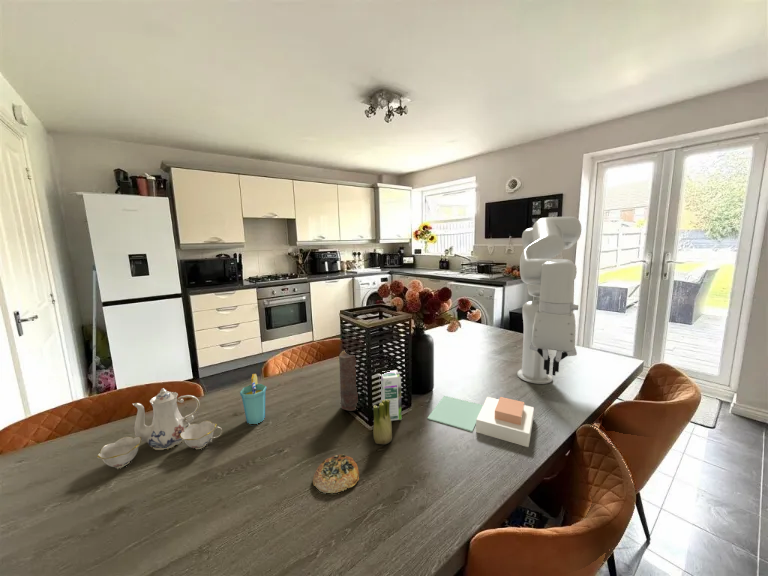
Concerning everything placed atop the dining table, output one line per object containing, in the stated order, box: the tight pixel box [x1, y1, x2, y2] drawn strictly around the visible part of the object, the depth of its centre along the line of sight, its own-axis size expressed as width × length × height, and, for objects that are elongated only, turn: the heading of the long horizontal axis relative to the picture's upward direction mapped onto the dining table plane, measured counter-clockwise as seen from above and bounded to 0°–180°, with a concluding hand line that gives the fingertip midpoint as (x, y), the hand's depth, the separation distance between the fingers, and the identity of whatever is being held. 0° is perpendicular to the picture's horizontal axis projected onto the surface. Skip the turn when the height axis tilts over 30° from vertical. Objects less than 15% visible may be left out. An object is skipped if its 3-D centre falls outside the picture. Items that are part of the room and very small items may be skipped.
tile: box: [494, 396, 525, 425], centre depth 91 cm, size 9×7×2 cm
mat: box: [426, 395, 484, 433], centre depth 100 cm, size 16×14×1 cm
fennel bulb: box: [372, 399, 393, 445], centre depth 85 cm, size 6×5×12 cm
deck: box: [475, 396, 535, 448], centre depth 92 cm, size 15×14×4 cm
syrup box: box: [380, 369, 403, 422], centre depth 97 cm, size 6×6×14 cm
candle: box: [338, 350, 358, 412], centre depth 102 cm, size 8×7×20 cm
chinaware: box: [97, 387, 223, 468], centre depth 84 cm, size 28×17×17 cm, turn 118°
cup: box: [239, 373, 267, 425], centre depth 95 cm, size 14×8×15 cm, turn 27°
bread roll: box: [312, 453, 360, 493], centre depth 73 cm, size 11×11×5 cm
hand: (550, 372), depth 84 cm, fingers closed
